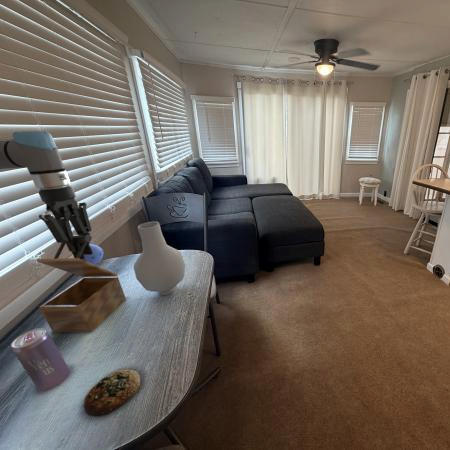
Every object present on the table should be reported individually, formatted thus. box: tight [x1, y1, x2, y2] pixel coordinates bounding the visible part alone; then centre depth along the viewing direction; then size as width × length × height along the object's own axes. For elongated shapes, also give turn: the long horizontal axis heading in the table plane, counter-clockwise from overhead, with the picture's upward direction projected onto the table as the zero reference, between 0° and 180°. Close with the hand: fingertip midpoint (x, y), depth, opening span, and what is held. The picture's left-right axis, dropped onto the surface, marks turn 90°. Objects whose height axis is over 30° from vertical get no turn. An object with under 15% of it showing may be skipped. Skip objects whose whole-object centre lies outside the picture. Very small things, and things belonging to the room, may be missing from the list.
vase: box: [133, 221, 186, 296], centre depth 90 cm, size 17×16×28 cm
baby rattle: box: [81, 243, 104, 265], centre depth 97 cm, size 9×9×18 cm
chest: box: [38, 276, 127, 333], centre depth 80 cm, size 16×13×11 cm
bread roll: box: [83, 369, 141, 418], centre depth 57 cm, size 11×11×5 cm
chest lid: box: [36, 234, 118, 278], centre depth 80 cm, size 17×13×10 cm
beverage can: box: [10, 327, 71, 392], centre depth 58 cm, size 6×6×15 cm
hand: (84, 256), depth 79 cm, fingers closed on chest lid, 2 cm apart
